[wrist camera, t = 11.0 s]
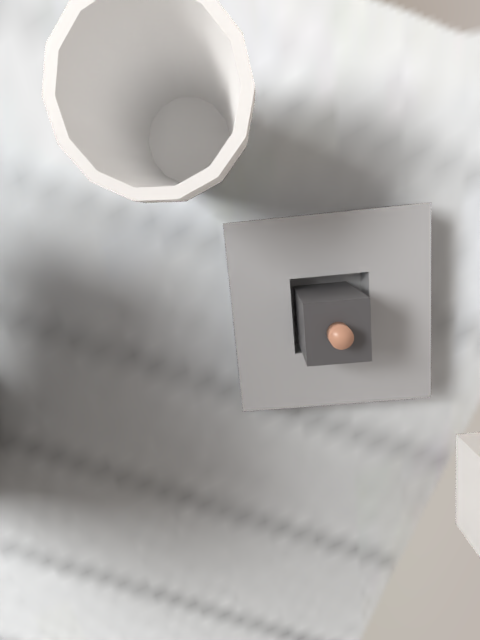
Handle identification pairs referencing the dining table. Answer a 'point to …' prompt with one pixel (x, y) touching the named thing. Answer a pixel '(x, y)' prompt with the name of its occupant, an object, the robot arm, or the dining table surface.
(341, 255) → the socket plate
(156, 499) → the dining table surface
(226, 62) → the foam cup
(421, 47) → the dining table surface
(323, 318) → the plug
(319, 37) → the dining table surface
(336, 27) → the dining table surface
